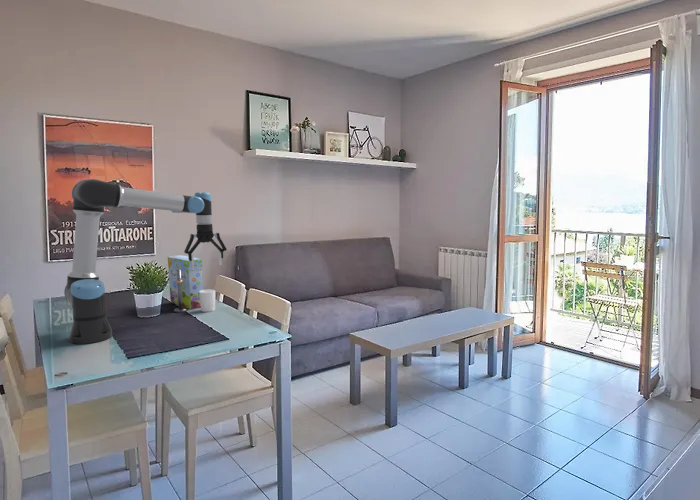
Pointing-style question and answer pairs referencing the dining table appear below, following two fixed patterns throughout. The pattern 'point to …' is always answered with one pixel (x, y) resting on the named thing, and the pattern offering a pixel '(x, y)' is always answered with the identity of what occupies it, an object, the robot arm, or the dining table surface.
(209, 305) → the white cup
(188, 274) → the snack box
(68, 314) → the dining table surface
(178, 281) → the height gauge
